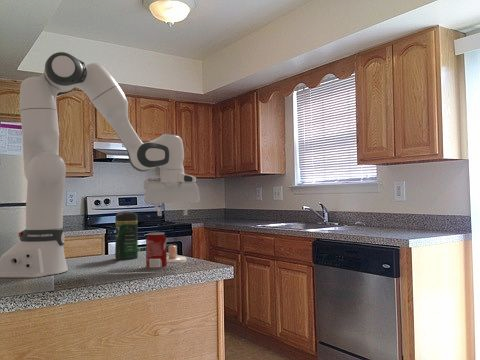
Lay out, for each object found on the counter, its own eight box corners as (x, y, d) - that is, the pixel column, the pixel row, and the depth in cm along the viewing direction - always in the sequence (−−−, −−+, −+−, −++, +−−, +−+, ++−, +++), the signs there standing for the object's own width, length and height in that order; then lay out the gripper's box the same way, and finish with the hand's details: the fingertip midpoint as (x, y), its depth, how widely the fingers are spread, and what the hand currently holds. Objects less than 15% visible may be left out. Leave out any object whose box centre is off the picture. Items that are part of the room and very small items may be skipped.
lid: (158, 263, 151) (157, 248, 152) (159, 258, 161) (159, 244, 161) (186, 262, 153) (186, 247, 153) (186, 257, 163) (186, 244, 163)
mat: (158, 264, 151) (158, 263, 151) (159, 260, 161) (159, 258, 161) (186, 263, 153) (186, 262, 153) (186, 259, 163) (186, 257, 163)
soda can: (162, 270, 139) (161, 234, 140) (142, 270, 141) (142, 234, 141) (169, 267, 146) (169, 232, 146) (151, 266, 147) (151, 232, 148)
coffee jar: (140, 260, 162) (140, 211, 163) (119, 261, 158) (119, 212, 159) (133, 256, 171) (133, 210, 171) (113, 258, 167) (113, 211, 167)
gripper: (142, 178, 153) (143, 216, 153) (199, 177, 156) (200, 215, 156) (144, 178, 160) (144, 215, 159) (199, 177, 162) (199, 214, 162)
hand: (172, 215), depth 157 cm, fingers open, 8 cm apart
